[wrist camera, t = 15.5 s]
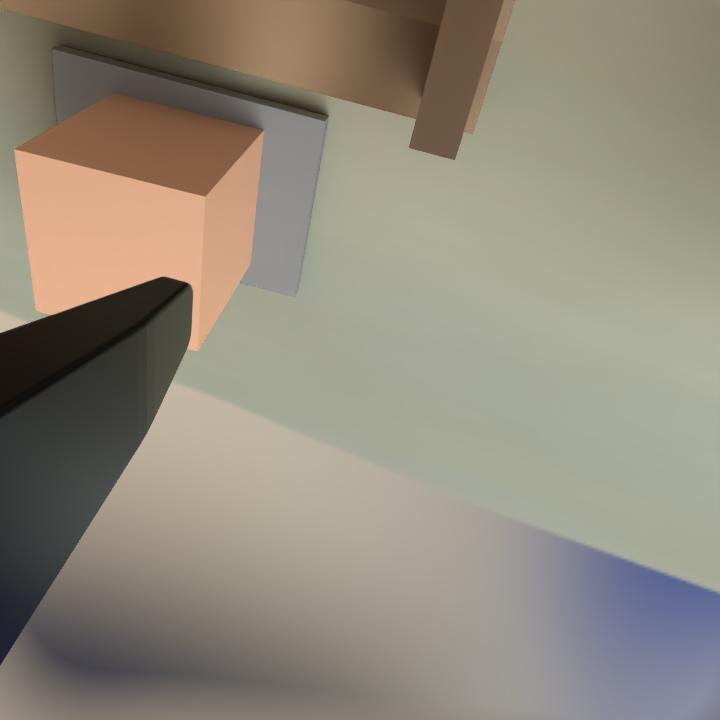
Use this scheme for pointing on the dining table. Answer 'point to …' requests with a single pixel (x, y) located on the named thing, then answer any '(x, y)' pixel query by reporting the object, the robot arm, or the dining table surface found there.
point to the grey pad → (280, 122)
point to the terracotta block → (139, 205)
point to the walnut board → (324, 48)
